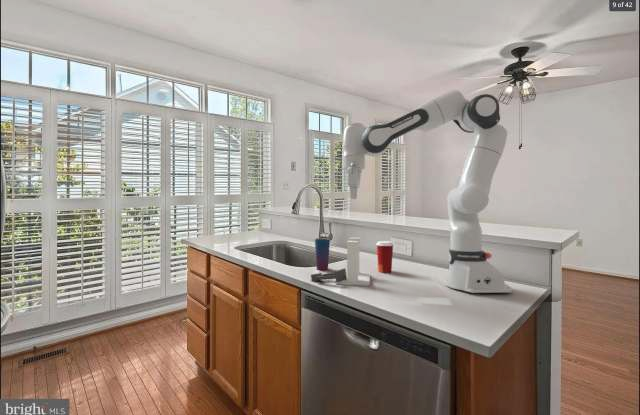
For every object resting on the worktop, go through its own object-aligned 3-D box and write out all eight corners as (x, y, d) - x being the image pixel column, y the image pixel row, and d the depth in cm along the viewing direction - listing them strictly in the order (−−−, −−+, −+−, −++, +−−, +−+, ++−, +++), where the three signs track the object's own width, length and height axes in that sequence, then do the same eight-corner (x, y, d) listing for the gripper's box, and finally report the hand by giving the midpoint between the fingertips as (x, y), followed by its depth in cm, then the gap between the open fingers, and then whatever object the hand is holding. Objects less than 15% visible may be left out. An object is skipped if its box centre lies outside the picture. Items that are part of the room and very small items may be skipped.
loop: (336, 271, 122) (307, 274, 129) (338, 282, 122) (308, 284, 129) (345, 268, 129) (317, 270, 136) (346, 278, 128) (318, 280, 135)
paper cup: (395, 272, 148) (395, 241, 148) (390, 275, 141) (390, 243, 141) (379, 270, 152) (379, 240, 152) (373, 273, 145) (373, 242, 145)
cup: (328, 273, 145) (328, 240, 145) (313, 273, 146) (313, 239, 146) (330, 270, 152) (331, 238, 152) (316, 270, 153) (316, 238, 153)
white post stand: (369, 276, 140) (370, 237, 140) (369, 285, 124) (369, 242, 124) (339, 275, 142) (339, 237, 142) (335, 284, 126) (335, 241, 126)
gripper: (360, 161, 122) (360, 198, 122) (362, 167, 142) (362, 199, 142) (343, 161, 123) (343, 198, 123) (347, 167, 143) (347, 199, 143)
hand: (353, 198), depth 133 cm, fingers open, 8 cm apart
